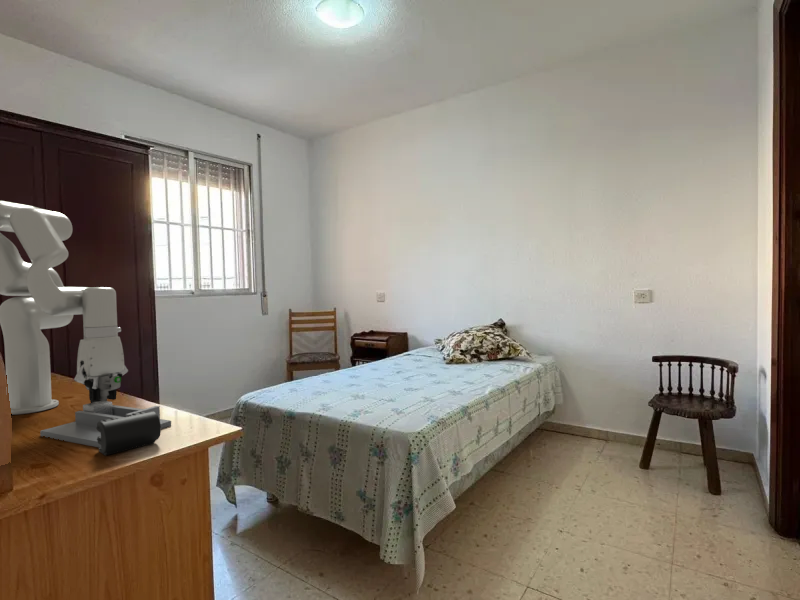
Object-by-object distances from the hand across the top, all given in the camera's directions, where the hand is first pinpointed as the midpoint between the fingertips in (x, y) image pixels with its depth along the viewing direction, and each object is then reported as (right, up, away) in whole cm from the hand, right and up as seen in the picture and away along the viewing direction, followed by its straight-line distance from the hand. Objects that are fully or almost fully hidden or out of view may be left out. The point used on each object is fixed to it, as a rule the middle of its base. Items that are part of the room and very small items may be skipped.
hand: (103, 400), depth 118 cm
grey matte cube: (+6, -2, -11) cm, 13 cm away
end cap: (+24, -4, -28) cm, 37 cm away
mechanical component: (0, -3, 0) cm, 3 cm away
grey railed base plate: (+12, -3, -16) cm, 20 cm away
